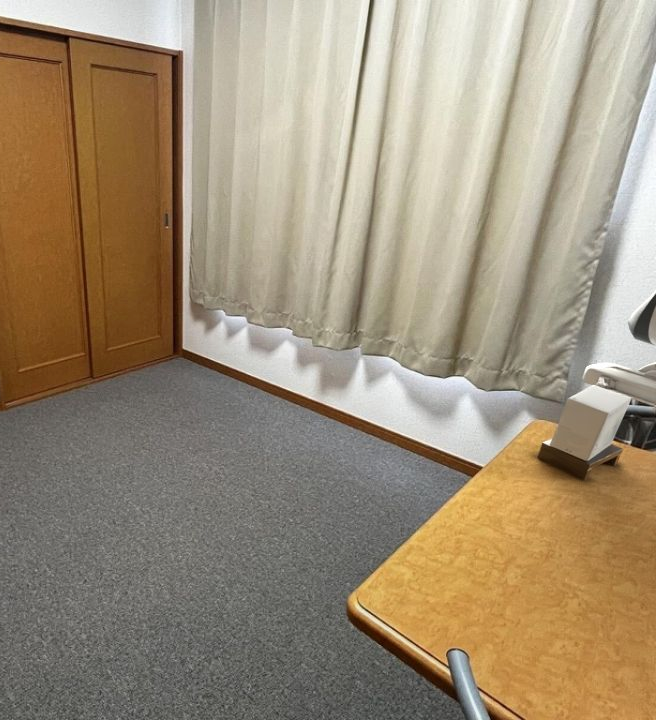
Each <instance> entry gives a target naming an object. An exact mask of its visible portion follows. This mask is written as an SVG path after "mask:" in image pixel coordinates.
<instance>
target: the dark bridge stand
mask: <svg viewBox="0 0 656 720" xmlns="http://www.w3.org/2000/svg"><path fill="white" fill-rule="evenodd" d="M551 440H552V438H550V439H548V440H545V441H543V442H541V445H540V448H539V452H538V455H537V458H538V459H540V460H541V461H543V462H546V463H547V464H549V465H552V466H554V467H555V468H558V469H559V470H562V471H564V472H566V473H568V474H570V475H572V476H574V477H576V478H577V479H580V480H581V481H586V480H587V479H588V478H589V475H590V473H591V471H592V469H593V468H595V467H597V466H599V465H602V464H604V463H606V464H609V465H610V466H614V467H615V466H616V465H618V463H619V460H620V459H621V456H622V454H623V451H624V448H622V447H620V446H618V445H615V444H613V443H612V444H611V445H609V446H608V447H607V448H605V449H604V450H602V451H601V452H600V453H598V454H597V455H596V456H594V457H593V458H591V459H590V460H589V461H585V460H583V459H580V458H578V457H576V456H573V455H571V454H569V453H566V452H564V451H562V450H559V449H557V448H555V447H552V446H550V443H551Z"/></svg>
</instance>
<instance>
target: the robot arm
mask: <svg viewBox="0 0 656 720" xmlns="http://www.w3.org/2000/svg"><path fill="white" fill-rule="evenodd" d="M627 326H628V329H629V331H630V334H631V335H632V337H633V338H634V340H638V341H640V342H643V343H645V344H650V345H652V346H656V290H654V292H653V293H652V294H651V295H650V296H649V297H648V298H647V299H646V300H645V301H644V302H643V303H642V304H640V305H639V307H637V308H636V309H635V310H634V311H633V313H632V314H631V316H630V317H629V319H628V321H627ZM582 381H583V382H584V383H585V384H587V385H589V386H591V385H595V386H598V387H601V388H604V389H607V390H610V391H613V392H616V393H619V394H622V395H625V396H628V397H631V398H632V399H631V400H634V401H637V402H640V403H643V404H646V405H648V406H651V407H653V408H652V410H651V411H652V412H653V413H656V361H655V362H652V363H650V364H647V365H645V366H643V367H640V368H639V369H633V368H630V367H627V366H623V365H620V364H616V363H612V362H602V363H596V364H595V363H594V364H590V365H588V366H586V367H585V369H584V372H583V375H582Z"/></svg>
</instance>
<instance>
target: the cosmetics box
mask: <svg viewBox="0 0 656 720" xmlns="http://www.w3.org/2000/svg"><path fill="white" fill-rule="evenodd" d="M631 400H633V399H632V398H631V397H628V396H625V395H622V394H619V393H616V392H613V391H610V390H607V389H604V388H601V387H598V386H595V385H589V386H588V387H586V388H584V389H582V390H581V391H579V392H577V393H575V394H573V395H572V396H570V397H568V398H567V400H566V402H565V405H564V407H563V410H562V413H561V416H560V419H559V421H558V424H557V426H556V428H555V430H554V433H553V436H552V438H551V439H552V440H551V443H550V446H552V447H555V448H557V449H559V450H562V451H564V452H566V453H569V454H571V455H573V456H576V457H578V458H580V459H583V460H585V461H589V460H590V459H591V458H593V457H594V456H596V455H597V454H598V453H600V452H601V451H602V450H604V449H605V448H607V447H608V446H609V445H611V444H613V442H614V439H615V437H616V434H617V432H618V430H619V427H620V425H621V423H622V421H623V418H624V416H625V414H626V412H627V410H628V407H629V406H630V404H631V403H630V402H631Z"/></svg>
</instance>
